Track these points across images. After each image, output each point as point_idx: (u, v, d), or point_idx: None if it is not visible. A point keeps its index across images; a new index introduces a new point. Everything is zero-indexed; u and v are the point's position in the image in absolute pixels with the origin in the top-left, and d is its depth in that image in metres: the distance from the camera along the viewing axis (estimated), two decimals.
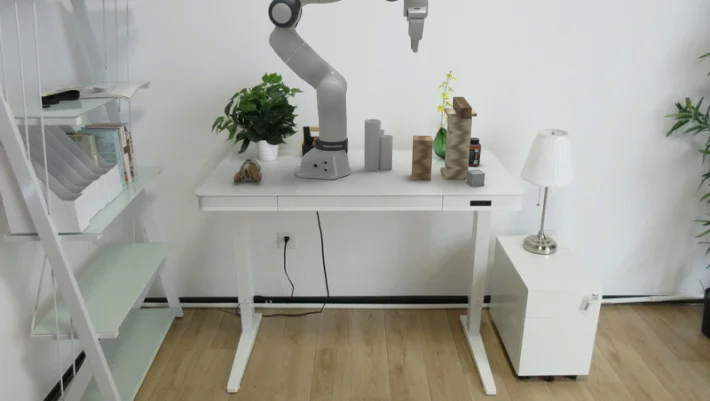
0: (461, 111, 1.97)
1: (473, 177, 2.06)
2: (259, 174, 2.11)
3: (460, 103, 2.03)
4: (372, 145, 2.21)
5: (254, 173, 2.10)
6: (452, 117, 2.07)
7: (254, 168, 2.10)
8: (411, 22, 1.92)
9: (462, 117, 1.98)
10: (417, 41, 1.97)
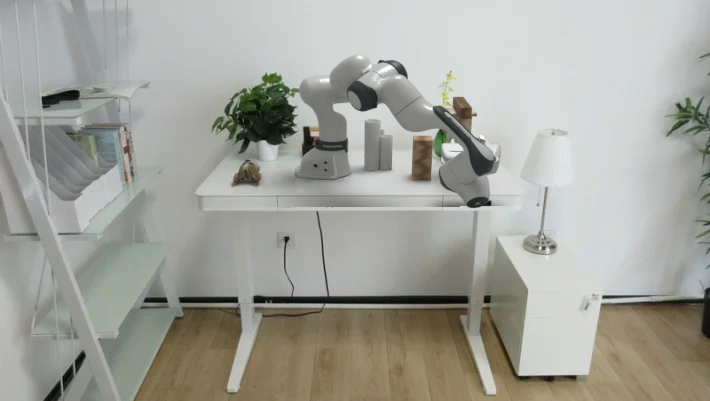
0: (461, 111, 1.97)
1: None
2: (258, 174, 2.11)
3: (460, 103, 2.03)
4: (372, 145, 2.21)
5: (253, 173, 2.10)
6: None
7: (253, 168, 2.10)
8: None
9: (462, 117, 1.98)
10: None
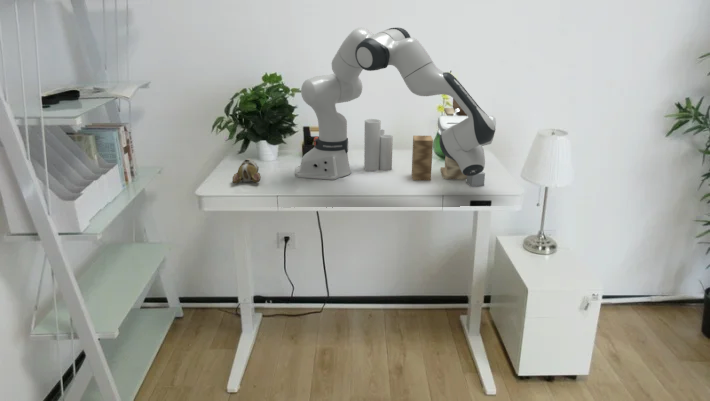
0: (461, 111, 1.97)
1: (473, 177, 2.06)
2: (258, 175, 2.11)
3: None
4: (372, 145, 2.21)
5: (253, 174, 2.10)
6: None
7: (253, 169, 2.10)
8: None
9: None
10: None
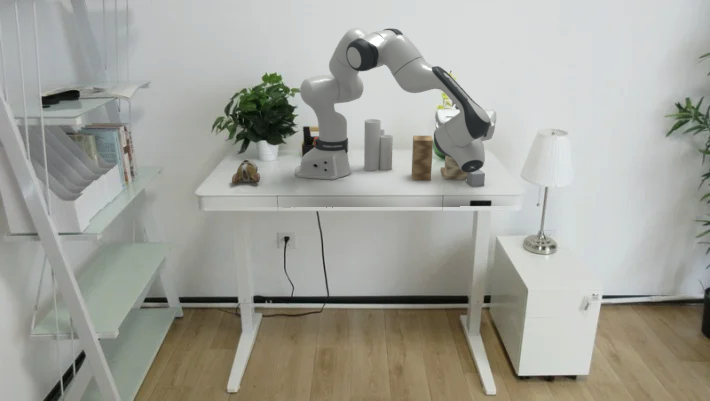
0: None
1: (473, 177, 2.06)
2: (257, 175, 2.10)
3: None
4: (372, 145, 2.21)
5: (252, 174, 2.09)
6: None
7: (252, 169, 2.10)
8: None
9: None
10: None
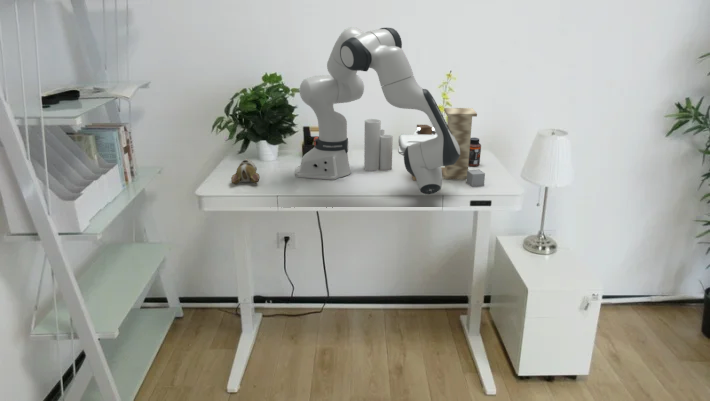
0: (421, 131, 2.00)
1: (473, 177, 2.06)
2: (256, 175, 2.10)
3: (421, 126, 2.07)
4: (372, 145, 2.21)
5: (252, 174, 2.09)
6: (452, 117, 2.07)
7: (251, 169, 2.09)
8: None
9: None
10: None
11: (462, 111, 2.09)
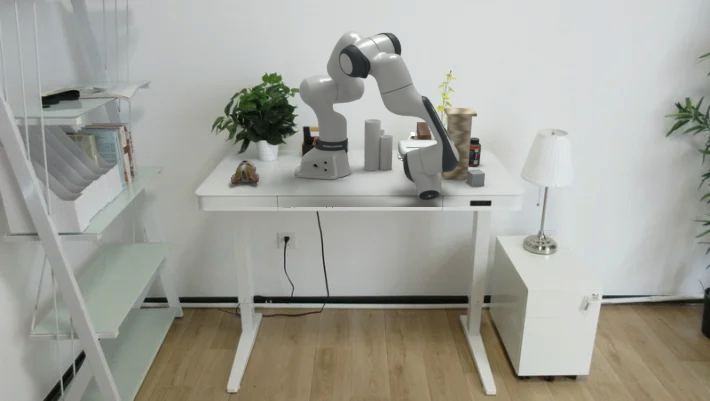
0: (421, 138, 2.01)
1: (473, 177, 2.06)
2: (256, 175, 2.10)
3: (421, 130, 2.07)
4: (372, 145, 2.21)
5: (251, 174, 2.09)
6: (452, 117, 2.07)
7: (251, 169, 2.09)
8: None
9: None
10: None
11: (462, 111, 2.09)
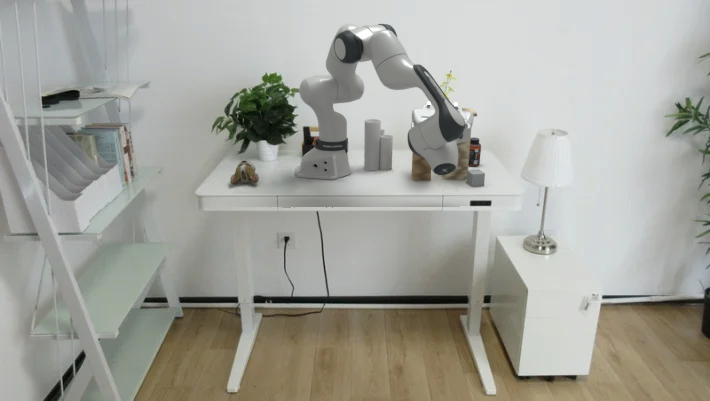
0: None
1: (473, 177, 2.06)
2: (256, 175, 2.10)
3: None
4: (372, 145, 2.21)
5: (251, 174, 2.09)
6: None
7: (251, 169, 2.09)
8: None
9: None
10: None
11: None
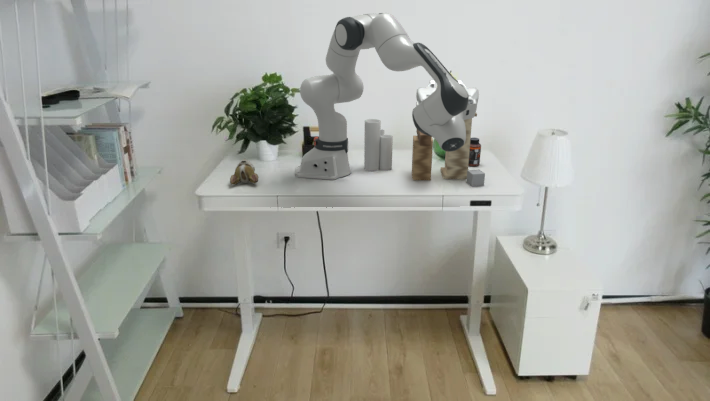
0: (421, 138, 2.01)
1: (473, 177, 2.06)
2: (255, 175, 2.10)
3: None
4: (372, 145, 2.21)
5: (250, 174, 2.09)
6: None
7: (250, 169, 2.09)
8: None
9: (422, 144, 2.01)
10: None
11: None
